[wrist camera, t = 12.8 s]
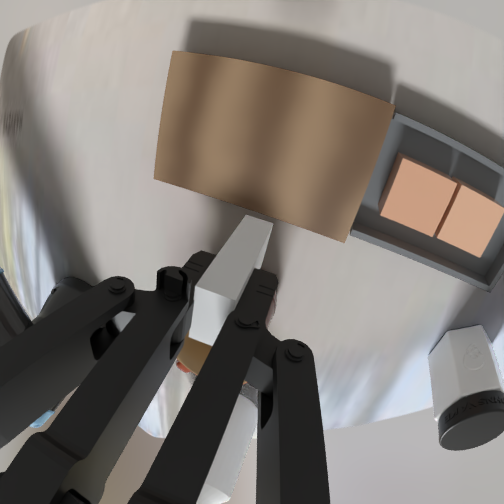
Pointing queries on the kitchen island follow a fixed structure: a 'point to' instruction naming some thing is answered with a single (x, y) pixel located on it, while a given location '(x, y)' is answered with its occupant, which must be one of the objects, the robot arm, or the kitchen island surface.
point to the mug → (205, 348)
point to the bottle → (230, 453)
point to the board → (270, 140)
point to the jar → (466, 389)
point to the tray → (431, 248)
